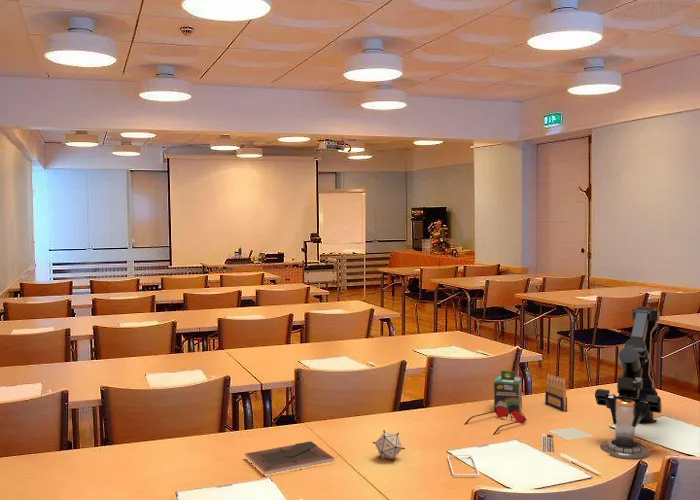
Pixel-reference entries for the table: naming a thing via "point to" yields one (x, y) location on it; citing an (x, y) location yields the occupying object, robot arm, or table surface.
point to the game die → (388, 445)
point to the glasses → (505, 415)
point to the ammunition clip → (556, 393)
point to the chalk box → (508, 391)
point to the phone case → (463, 474)
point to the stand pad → (570, 433)
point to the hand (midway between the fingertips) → (624, 425)
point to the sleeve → (625, 422)
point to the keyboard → (548, 447)
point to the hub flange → (625, 450)
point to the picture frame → (289, 457)
